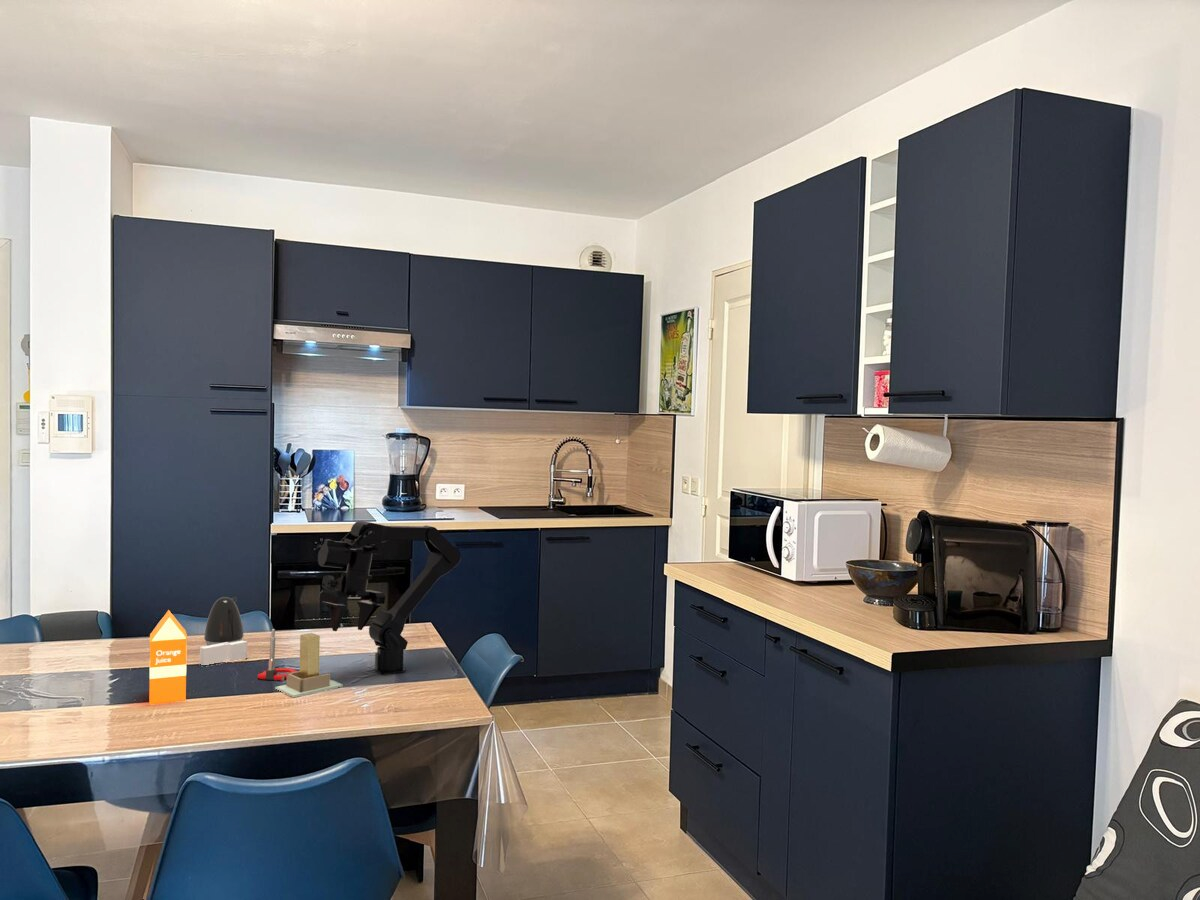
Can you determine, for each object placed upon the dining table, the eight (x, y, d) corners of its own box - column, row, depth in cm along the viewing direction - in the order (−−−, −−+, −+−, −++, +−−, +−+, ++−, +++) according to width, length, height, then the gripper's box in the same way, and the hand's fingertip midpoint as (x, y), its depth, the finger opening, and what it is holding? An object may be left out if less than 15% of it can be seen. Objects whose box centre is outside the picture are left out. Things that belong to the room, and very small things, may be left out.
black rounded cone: (251, 647, 249) (252, 595, 249) (227, 656, 239) (228, 601, 238) (220, 644, 251) (221, 592, 251) (196, 653, 241) (196, 599, 241)
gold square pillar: (314, 681, 215) (315, 632, 215) (322, 685, 213) (323, 635, 212) (295, 685, 212) (296, 635, 211) (303, 689, 209) (304, 638, 209)
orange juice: (148, 705, 197) (149, 618, 196) (148, 694, 204) (150, 610, 204) (186, 700, 200) (187, 615, 200) (185, 690, 208) (186, 608, 208)
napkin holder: (190, 671, 226) (191, 649, 226) (200, 659, 237) (201, 638, 237) (251, 668, 229) (251, 647, 229) (258, 657, 240) (259, 637, 240)
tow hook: (273, 671, 227) (253, 679, 218) (275, 622, 227) (256, 628, 218) (302, 673, 226) (284, 682, 217) (305, 624, 226) (287, 630, 217)
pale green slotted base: (323, 679, 220) (324, 665, 220) (342, 686, 214) (342, 672, 214) (275, 689, 210) (275, 674, 210) (293, 697, 204) (293, 682, 204)
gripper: (359, 566, 234) (348, 623, 233) (308, 563, 218) (297, 625, 216) (391, 572, 229) (380, 631, 228) (341, 570, 212) (330, 634, 211)
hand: (347, 630), depth 221 cm, fingers open, 9 cm apart
